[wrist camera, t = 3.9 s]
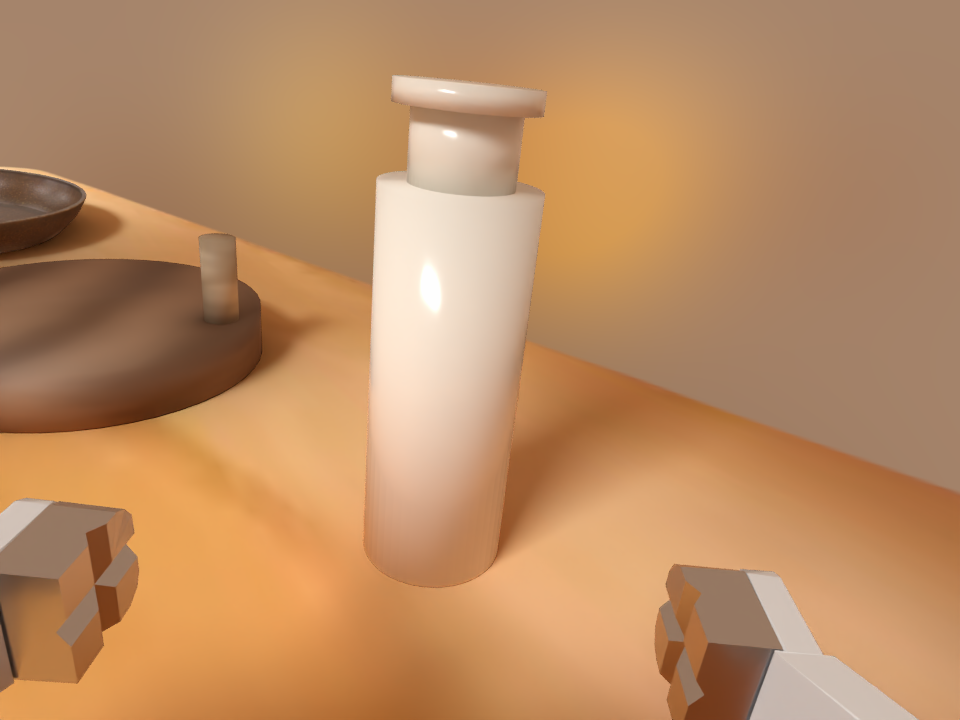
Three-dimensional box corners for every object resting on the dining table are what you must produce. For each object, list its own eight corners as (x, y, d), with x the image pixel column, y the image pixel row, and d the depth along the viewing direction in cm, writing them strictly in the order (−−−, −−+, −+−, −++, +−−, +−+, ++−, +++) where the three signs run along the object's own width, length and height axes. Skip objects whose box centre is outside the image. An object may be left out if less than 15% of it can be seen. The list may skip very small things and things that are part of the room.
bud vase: (351, 580, 21) (365, 75, 16) (375, 494, 26) (394, 72, 20) (497, 594, 21) (566, 96, 16) (497, 506, 26) (552, 89, 20)
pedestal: (-223, 410, 27) (-280, 248, 24) (33, 288, 41) (14, 178, 39) (187, 450, 27) (174, 294, 24) (297, 314, 42) (296, 208, 39)
